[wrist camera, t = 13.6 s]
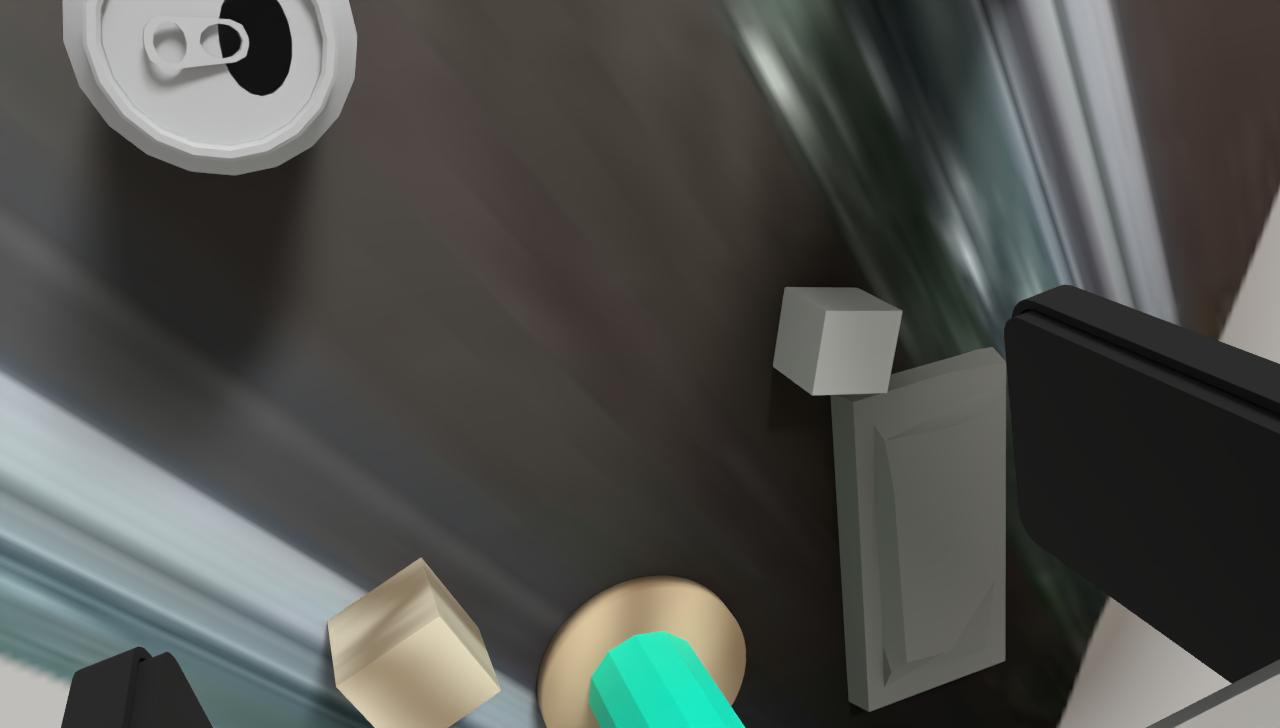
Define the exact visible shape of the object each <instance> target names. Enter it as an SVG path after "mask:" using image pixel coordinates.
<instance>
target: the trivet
mask: <svg viewBox="0 0 1280 728" xmlns="http://www.w3.org/2000/svg"><path fill="white" fill-rule="evenodd" d="M662 631H665V632H667V633H670V634H672V635H674V636H677V637H679V638H681V639H683V640H686V641H687V642H688V643H689V645H690V646H691V648H692V649H693V650H694V652H695V653H696V655H697V656H698V658H699V659H700V661H701V662H702V664H703V665H704V667H705V668H706V670H707V671H708V673H709V674H710V676H711V677H712V679H713V680H714V682H715V683H716V685H717V686H718V688H719V689H720V691H721V692H722V694H723V695H724V697H725V698H726V700H727V701H728V703H729V704H730V706H732V704H733V702H734V700H735V698H736V697H737V694H738V692H739V689H740V687H741V684H742V680H743V676H744V672H745V665H746V648H745V641H744V637H743V634H742V631H741V629H740V627H739V625H738V623H737V621H736V619H735V618H734V616H733V615H732V614H731V613H730V611H729V610H728V609H727V607H726V606H725V605H724V603H723V602H722V601H721V599H720V598H719V597H718V596H716V595H715V594H714V593H713V592H712V591H711V590H709V589H708V588H706V587H705V586H703V585H701V584H699V583H697V582H695V581H693V580H689V579H686V578H682V577H677V576H670V575H654V576H645V577H639V578H635V579H631V580H627V581H625V582H622V583H619V584H616V585H614V586H612V587H610V588H608V589H606V590H604V591H602V592H600V593H598V594H597V595H595V596H594V597H592V598H590V599H589V600H588V601H586V602H585V603H584V604H583V605H581V606H580V607H579V608H578V609H577V610H576V611H574V612H573V613H572V614H571V615H570V616H569V617H568V618H567V619H566V621H565V622H564V623H563V624H562V625H561V627H560V628H559V629H558V631H557V632H556V634H555V635H554V637H553V638H552V640H551V641H550V643H549V645H548V647H547V649H546V651H545V653H544V656H543V659H542V662H541V664H540V669H539V673H538V679H537V697H538V704H539V708H540V712H541V714H542V717H543V719H544V722H545V724H546V727H547V728H601V727H600V725H599V723H598V721H597V719H596V717H595V715H594V713H593V711H592V709H591V707H590V704H589V695H590V684H591V676H592V675H593V673H594V672H595V670H596V669H597V667H598V666H599V664H600V663H601V662H602V660H603V659H604V657H605V656H606V654H607V653H608V651H610V650H612V649H613V648H615V647H616V646H618V645H620V644H621V643H623V642H625V641H626V640H628V639H629V638H631V637H633V636H634V635H638V634H646V633H654V632H662Z"/></svg>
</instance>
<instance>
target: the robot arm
mask: <svg viewBox="0 0 1280 728" xmlns="http://www.w3.org/2000/svg"><path fill="white" fill-rule="evenodd" d="M1004 339H1005V350H1006V362H1007V374H1008V386H1009V397H1010V409H1011V421H1012V432H1013V444H1014V456H1015V468H1016V479H1017V491H1018V503H1019V513H1020V518H1021V521H1022V524H1023V526H1024V528H1025V530H1026V532H1027V533H1028V535H1029V536H1030V537H1031V538H1032V540H1033V541H1034V542H1036V543H1037V544H1038V545H1039V546H1041V547H1042V548H1043V549H1045V550H1046V551H1048V552H1049V553H1050V554H1052V555H1053V556H1055V557H1056V558H1057V559H1059V560H1060V561H1061V562H1063V563H1064V564H1066V565H1067V566H1068V567H1070V568H1071V569H1073V570H1074V571H1075V572H1077V573H1078V574H1080V575H1081V576H1082V577H1084V578H1085V579H1087V580H1088V581H1089V582H1091V583H1092V584H1094V585H1095V586H1096V587H1098V588H1099V589H1101V590H1102V591H1103V592H1105V593H1106V594H1108V595H1109V596H1110V597H1112V598H1113V599H1115V600H1116V601H1117V602H1119V603H1120V604H1121V605H1123V606H1124V607H1126V608H1127V609H1128V610H1130V611H1131V612H1133V613H1134V614H1136V615H1137V616H1138V617H1140V618H1141V619H1142V620H1144V621H1145V622H1147V623H1148V624H1149V625H1151V626H1152V627H1154V628H1155V629H1156V630H1158V631H1159V632H1161V633H1162V634H1163V635H1165V636H1166V637H1168V638H1169V639H1170V640H1172V641H1173V642H1175V643H1176V644H1177V645H1179V646H1180V647H1182V648H1183V649H1184V650H1186V651H1187V652H1188V653H1190V654H1191V655H1193V656H1194V657H1195V658H1197V659H1198V660H1200V661H1201V662H1202V663H1204V664H1205V665H1207V666H1208V667H1209V668H1211V669H1212V670H1214V671H1215V672H1217V673H1218V674H1219V675H1221V676H1222V677H1223V678H1225V679H1226V680H1228V681H1229V682H1230V683H1232V684H1231V685H1229V686H1227V687H1225V688H1223V689H1221V690H1219V691H1217V692H1215V693H1213V694H1211V695H1209V696H1207V697H1205V698H1203V699H1201V700H1199V701H1197V702H1196V703H1193V704H1192V705H1190V706H1188V707H1186V708H1184V709H1182V710H1180V711H1178V712H1176V713H1174V714H1172V715H1170V716H1168V717H1166V718H1164V719H1162V720H1160V721H1158V722H1156V723H1154V724H1152V725H1151V726H1149V727H1147V728H1280V364H1278V363H1276V362H1273V361H1270V360H1268V359H1265V358H1262V357H1259V356H1257V355H1254V354H1252V353H1249V352H1246V351H1244V350H1241V349H1238V348H1236V347H1233V346H1230V345H1228V344H1225V343H1223V342H1220V341H1217V340H1215V339H1212V338H1209V337H1207V336H1204V335H1201V334H1199V333H1196V332H1193V331H1191V330H1188V329H1185V328H1183V327H1180V326H1177V325H1175V324H1172V323H1169V322H1167V321H1164V320H1161V319H1159V318H1156V317H1154V316H1151V315H1148V314H1146V313H1143V312H1140V311H1138V310H1135V309H1132V308H1130V307H1127V306H1124V305H1122V304H1119V303H1116V302H1114V301H1111V300H1108V299H1106V298H1103V297H1100V296H1098V295H1095V294H1093V293H1090V292H1087V291H1085V290H1082V289H1079V288H1077V287H1074V286H1070V285H1062V286H1058V287H1056V288H1053V289H1051V290H1048V291H1045V292H1043V293H1040V294H1038V295H1035V296H1033V297H1030V298H1028V299H1025V300H1022V301H1020V302H1019V303H1018V304H1017V305H1016V306H1015V308H1014V311H1013V313H1012V318H1011V319H1009V320H1008V321H1007V322H1006V325H1005V328H1004ZM61 728H213V727H212V725H211V723H210V722H209V720H208V718H207V716H206V714H205V712H204V710H203V709H202V707H201V705H200V703H199V701H198V699H197V697H196V696H195V694H194V692H193V690H192V688H191V686H190V685H189V683H188V681H187V679H186V677H185V675H184V673H183V672H182V670H181V668H180V666H179V664H178V663H177V661H176V659H175V658H174V657H173V656H172V655H171V654H170V653H168V652H165V653H163V654H160V655H158V656H155V657H153V658H152V657H151V655H150V654H149V653H148V652H147V651H146V650H145V649H144V648H142V647H136V648H134V649H131V650H129V651H126V652H124V653H121V654H118V655H116V656H113V657H111V658H108V659H106V660H103V661H101V662H98V663H95V664H93V665H90V666H88V667H85V668H83V669H80V670H78V671H77V672H75V674H74V677H73V679H72V683H71V687H70V691H69V696H68V700H67V704H66V709H65V713H64V717H63V721H62V726H61Z"/></svg>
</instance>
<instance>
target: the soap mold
mask: <svg viewBox="0 0 1280 728" xmlns="http://www.w3.org/2000/svg"><path fill="white" fill-rule="evenodd" d="M831 412H832V429H833V446H834V463H835V480H836V497H837V514H838V531H839V548H840V565H841V582H842V599H843V615H844V632H845V648H846V665H847V681H848V697H849V702H851V703H853V704H855V705H857V706H859V707H861V708H862V709H864V710H866V711H868V712H870V711H873V710H876V709H878V708H881V707H883V706H886V705H889V704H891V703H894V702H897V701H899V700H902V699H905V698H907V697H910V696H913V695H915V694H918V693H921V692H923V691H926V690H929V689H931V688H934V687H937V686H939V685H942V684H945V683H947V682H950V681H953V680H955V679H958V678H961V677H963V676H966V675H969V674H971V673H974V672H977V671H979V670H982V669H985V668H987V667H990V666H993V665H995V664H998V663H1001V662H1003V661H1005V578H1006V362H1005V361H1004V359H1003V358H1002V357H1001V356H1000V355H999V354H998V352H997V351H996V350H995V349H994V348H993V347H989V348H983V349H977V350H974V351H971V352H967V353H964V354H961V355H958V356H954V357H951V358H947V359H944V360H940V361H937V362H933V363H930V364H926V365H923V366H919V367H916V368H912V369H909V370H905V371H902V372H898V373H895V374H891V375H890V380H889V385H888V391H887V393H871V394H842V395H831Z"/></svg>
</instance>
